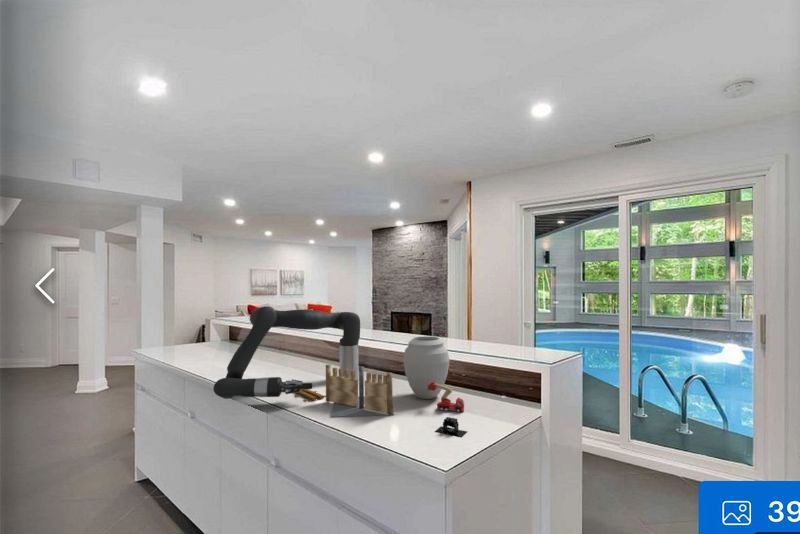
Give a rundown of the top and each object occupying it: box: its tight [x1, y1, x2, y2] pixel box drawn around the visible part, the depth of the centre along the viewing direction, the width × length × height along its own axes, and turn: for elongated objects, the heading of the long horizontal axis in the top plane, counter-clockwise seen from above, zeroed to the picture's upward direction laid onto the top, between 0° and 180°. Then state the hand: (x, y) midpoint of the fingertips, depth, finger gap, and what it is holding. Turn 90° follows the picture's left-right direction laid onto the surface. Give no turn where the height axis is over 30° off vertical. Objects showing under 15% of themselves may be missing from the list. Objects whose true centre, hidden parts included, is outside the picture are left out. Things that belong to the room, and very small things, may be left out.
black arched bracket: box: [434, 416, 468, 438], centre depth 128 cm, size 12×7×5 cm, turn 60°
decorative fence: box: [294, 389, 326, 403], centre depth 172 cm, size 25×2×10 cm
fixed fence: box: [358, 365, 394, 417], centre depth 148 cm, size 15×2×16 cm, turn 59°
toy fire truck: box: [428, 382, 465, 413], centre depth 149 cm, size 3×14×10 cm, turn 71°
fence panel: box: [325, 364, 359, 407], centre depth 156 cm, size 16×2×14 cm, turn 59°
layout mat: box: [330, 395, 395, 418], centre depth 154 cm, size 24×23×1 cm
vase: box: [402, 336, 450, 400], centre depth 166 cm, size 20×20×24 cm
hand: (312, 385), depth 158 cm, fingers closed
